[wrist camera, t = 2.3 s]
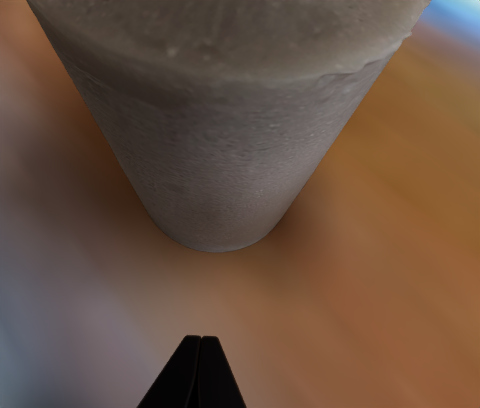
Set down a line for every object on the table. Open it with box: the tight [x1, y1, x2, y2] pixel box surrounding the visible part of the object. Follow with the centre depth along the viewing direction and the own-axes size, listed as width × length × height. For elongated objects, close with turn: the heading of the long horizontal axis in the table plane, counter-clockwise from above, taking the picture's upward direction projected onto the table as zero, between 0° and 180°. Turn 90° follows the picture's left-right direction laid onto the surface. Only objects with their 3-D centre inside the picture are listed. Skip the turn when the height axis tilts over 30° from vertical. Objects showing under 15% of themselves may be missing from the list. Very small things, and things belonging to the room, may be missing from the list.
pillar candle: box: [27, 0, 431, 252], centre depth 12 cm, size 10×10×15 cm
